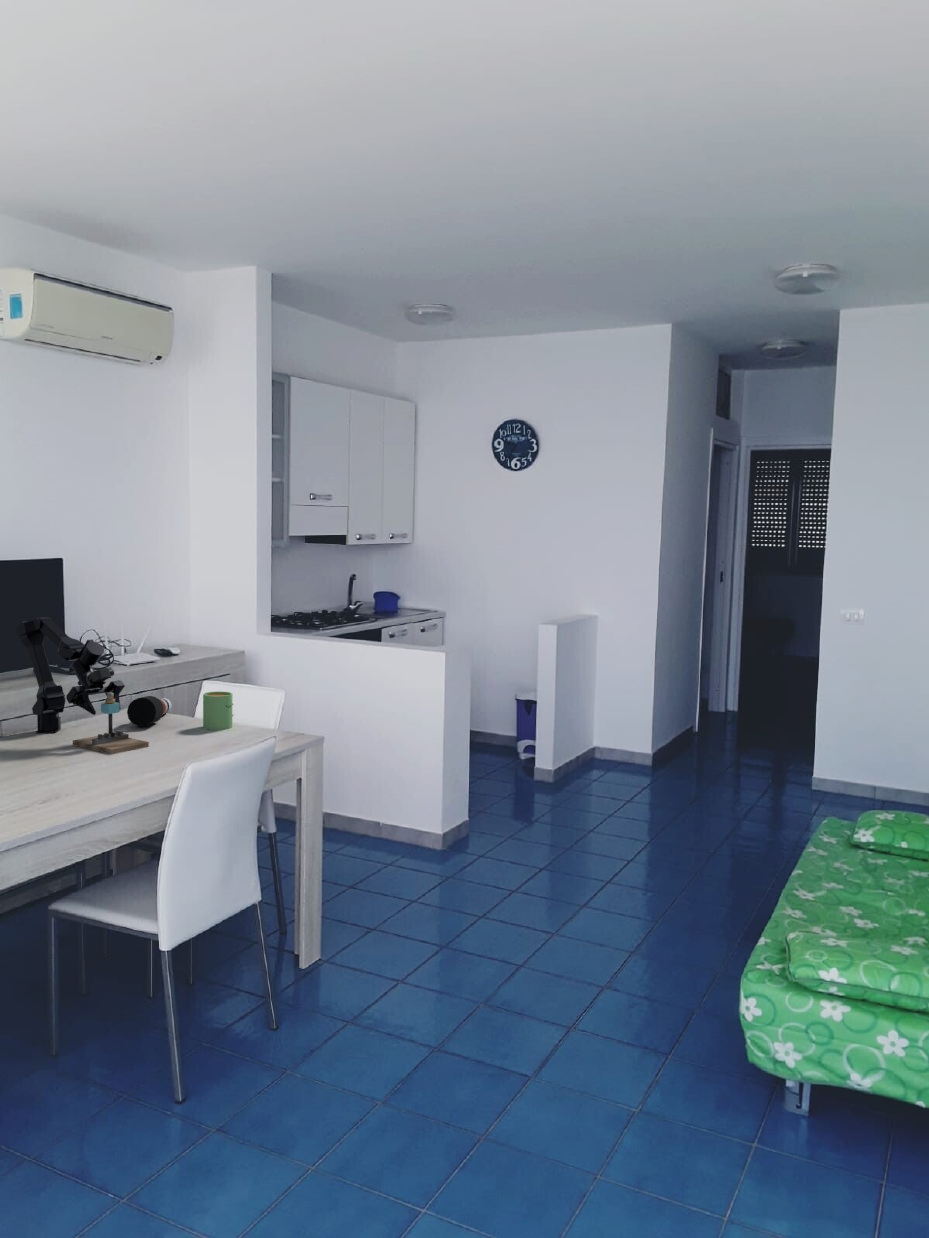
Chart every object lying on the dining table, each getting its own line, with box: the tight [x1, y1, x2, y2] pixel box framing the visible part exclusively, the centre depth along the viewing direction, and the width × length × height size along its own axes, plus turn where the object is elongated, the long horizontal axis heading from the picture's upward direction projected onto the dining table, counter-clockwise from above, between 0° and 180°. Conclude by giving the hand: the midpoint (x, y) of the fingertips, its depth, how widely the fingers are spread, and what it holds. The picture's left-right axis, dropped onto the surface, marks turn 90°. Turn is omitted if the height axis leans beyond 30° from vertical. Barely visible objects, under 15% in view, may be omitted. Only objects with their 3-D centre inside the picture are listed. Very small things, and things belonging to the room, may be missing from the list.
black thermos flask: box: [126, 695, 172, 727], centre depth 364 cm, size 10×34×10 cm, turn 2°
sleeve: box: [100, 702, 121, 715], centre depth 320 cm, size 4×4×3 cm
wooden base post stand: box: [72, 693, 150, 755], centre depth 320 cm, size 20×14×17 cm
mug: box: [202, 690, 234, 731], centre depth 354 cm, size 13×10×12 cm
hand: (107, 712), depth 321 cm, fingers open, 9 cm apart
